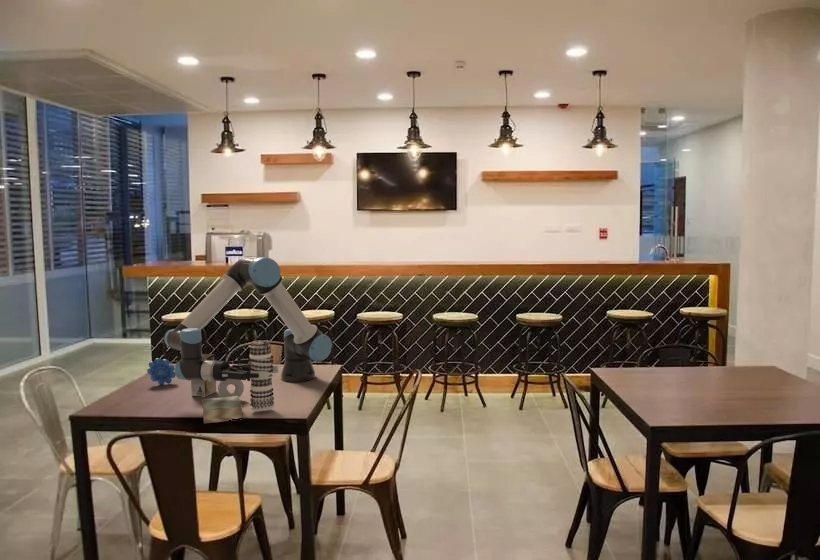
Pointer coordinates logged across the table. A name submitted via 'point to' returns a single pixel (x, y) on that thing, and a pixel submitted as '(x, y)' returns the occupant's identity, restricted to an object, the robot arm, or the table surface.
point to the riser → (221, 409)
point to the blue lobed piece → (161, 371)
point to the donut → (237, 383)
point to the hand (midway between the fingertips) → (273, 372)
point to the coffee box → (203, 382)
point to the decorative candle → (261, 387)
